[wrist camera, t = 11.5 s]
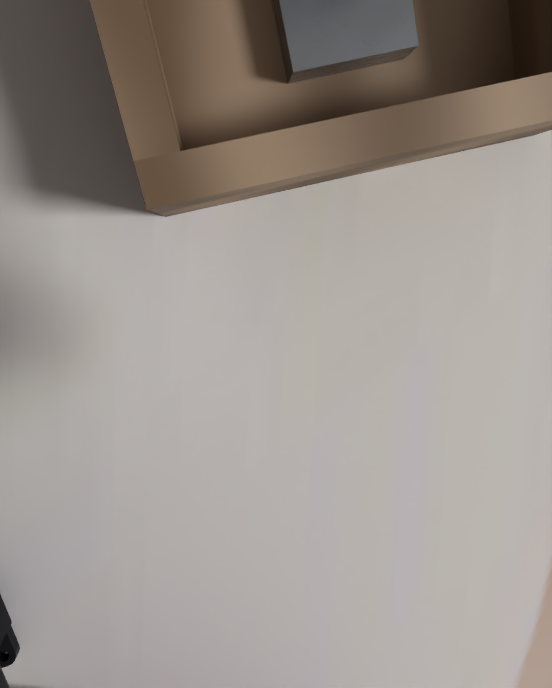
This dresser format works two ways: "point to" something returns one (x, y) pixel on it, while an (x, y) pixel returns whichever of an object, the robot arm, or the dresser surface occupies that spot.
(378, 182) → the dresser surface
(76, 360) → the dresser surface
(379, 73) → the open wooden box
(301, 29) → the grey block
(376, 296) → the dresser surface
